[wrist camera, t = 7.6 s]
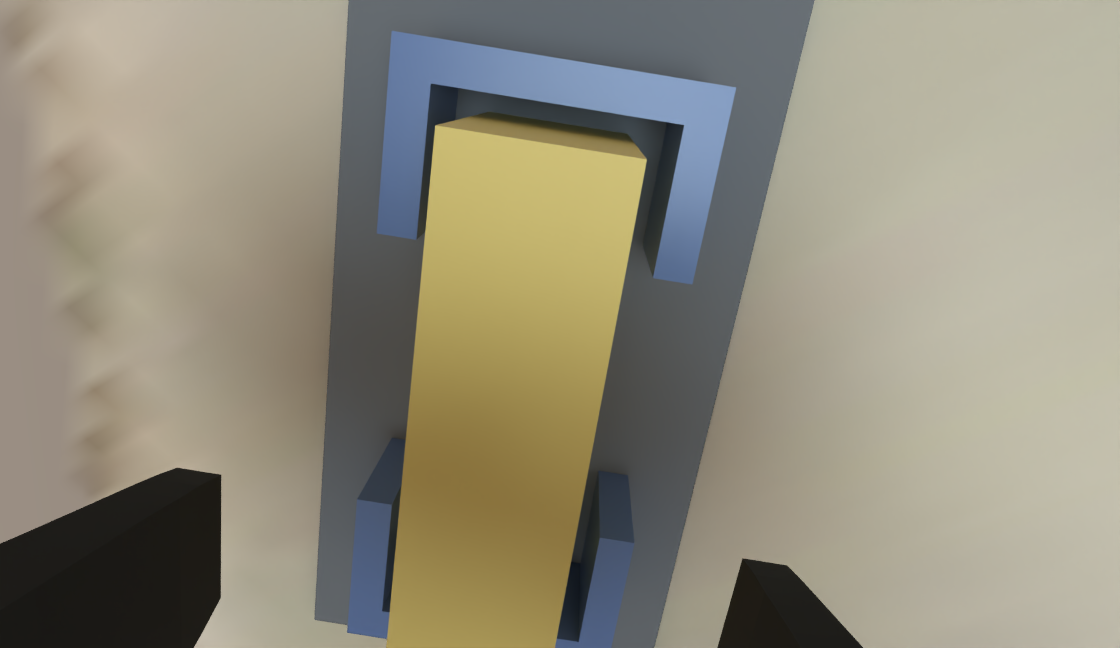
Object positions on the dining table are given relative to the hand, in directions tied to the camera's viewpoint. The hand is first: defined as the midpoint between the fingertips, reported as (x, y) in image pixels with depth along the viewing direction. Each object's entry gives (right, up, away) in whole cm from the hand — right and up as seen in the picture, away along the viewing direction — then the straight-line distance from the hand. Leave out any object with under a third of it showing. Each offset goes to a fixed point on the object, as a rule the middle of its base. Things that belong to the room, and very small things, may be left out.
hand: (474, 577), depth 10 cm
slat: (0, +3, +8) cm, 9 cm away
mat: (0, +3, +9) cm, 9 cm away
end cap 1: (+1, +7, +7) cm, 10 cm away
